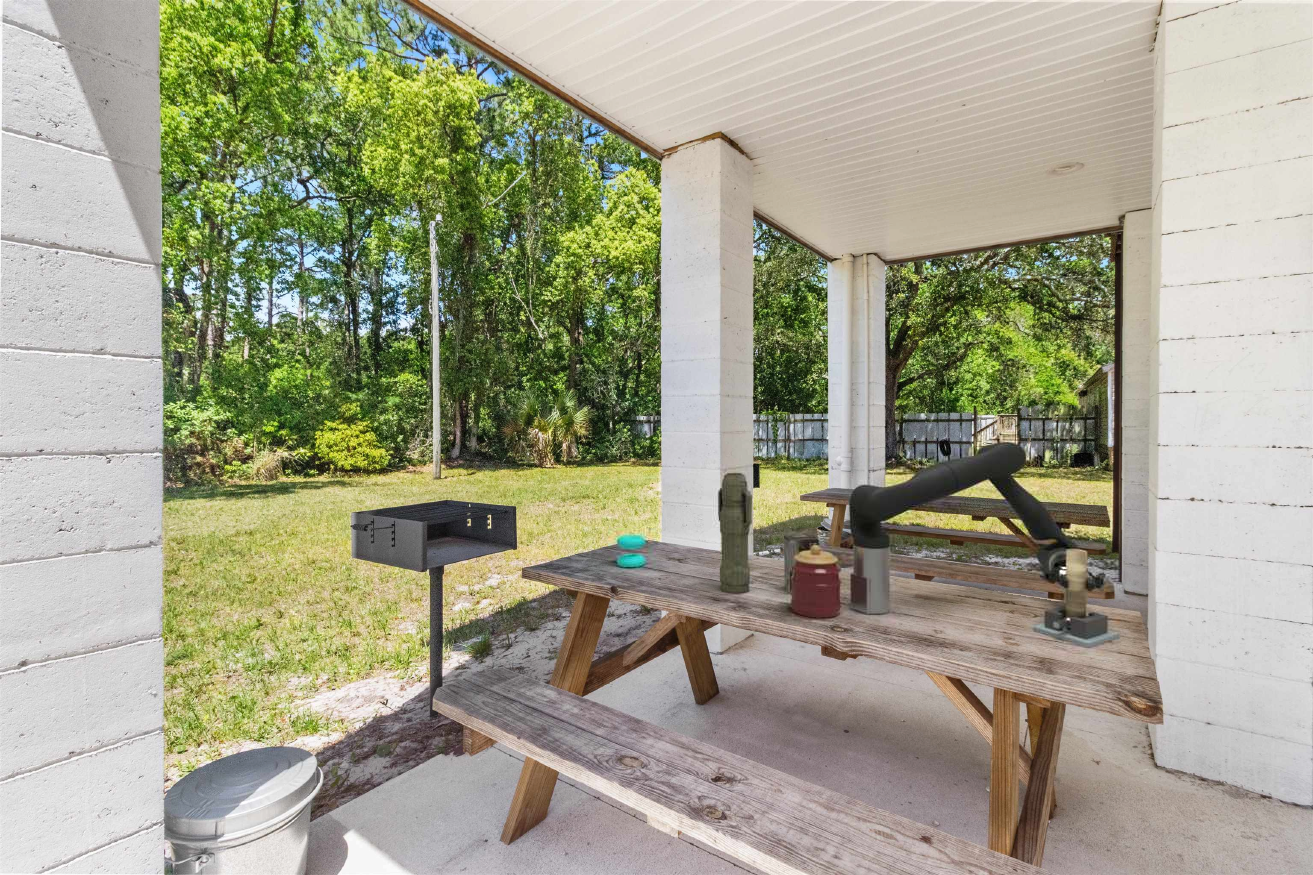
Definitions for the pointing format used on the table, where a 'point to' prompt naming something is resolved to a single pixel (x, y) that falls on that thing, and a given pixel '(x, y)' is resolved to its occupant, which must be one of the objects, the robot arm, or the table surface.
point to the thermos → (734, 533)
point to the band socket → (1077, 628)
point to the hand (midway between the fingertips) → (1078, 585)
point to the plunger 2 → (1089, 612)
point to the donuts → (631, 558)
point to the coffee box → (795, 553)
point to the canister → (816, 584)
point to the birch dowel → (1076, 583)
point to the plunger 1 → (1062, 622)
